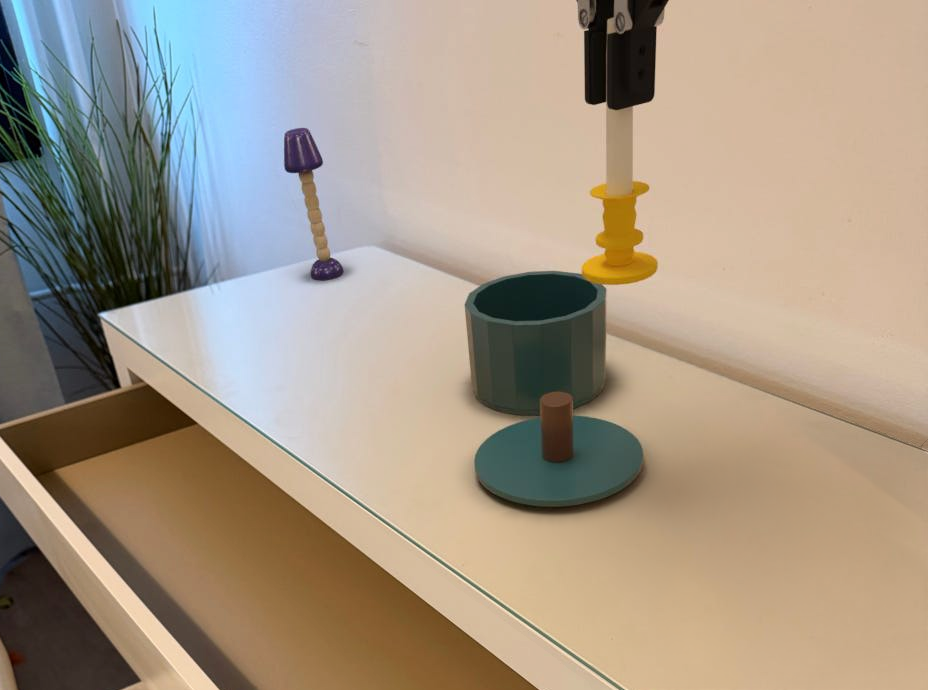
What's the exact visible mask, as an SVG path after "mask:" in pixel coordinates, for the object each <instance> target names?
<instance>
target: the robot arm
mask: <svg viewBox="0 0 928 690" xmlns="http://www.w3.org/2000/svg"><path fill="white" fill-rule="evenodd" d="M669 1H670V0H575V2H576V3H577V21H578V25H579V27H580V28H581V29H582V30H583V55H584V57H583V58H584V59H583V60H584V61H583V63H584V65H583V66H584V67H583V69H584V101H585V103H586V104H587V105H591V106H597V105H600V104H606V47H607V106H608V108H609V109H612V110H620V109H624V108H628V107H632V106H633V107H636V106H639V105H643V104H648V103H650V102H652V101H653V100H654V98H655V91H656V90H655V89H656V63H657V62H656V61H657V59H656V58H657V27H659V26H661V25H662V24H663V22H664V20H665V8H666V6H667V4H668V3H669ZM613 17H614V27H615V30H616V32H614V33H609V34H607V20H608V19H610V18H613Z"/></svg>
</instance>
